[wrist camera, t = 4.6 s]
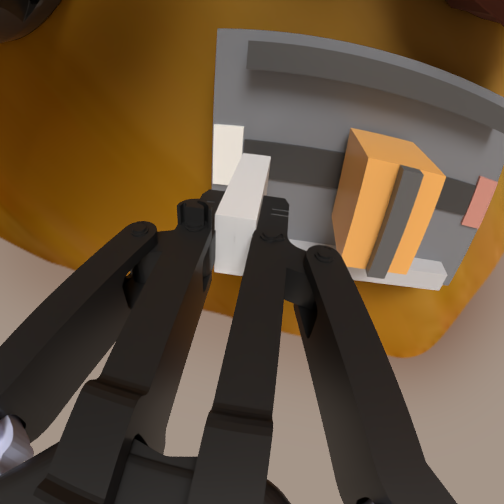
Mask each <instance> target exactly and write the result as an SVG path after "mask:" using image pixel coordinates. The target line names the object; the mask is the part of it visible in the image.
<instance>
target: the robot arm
mask: <svg viewBox="0 0 504 504" xmlns="http://www.w3.org/2000/svg"><path fill="white" fill-rule="evenodd" d="M60 1H61V0H0V43H3V42H7V41H12V40H16V39H19V38H21V37H23V36H25V35H27V34H29V33H30V32H32V31H33V30H34V29H36V28H37V27H38V26H39V25H40V24H41V23H42V22H43V21H44V20H45V19H46V18H47V17H48V16H49V15H50V14H51V13H52V12H53V10H54V9H55V8H56V7H57V5H58V4H59V2H60ZM270 161H271V156H264V155H256V154H247V153H243V155H242V157H241V159H240V161H239V163H238V165H237V167H236V169H235V172H234V174H233V176H232V178H231V180H230V182H229V185H228V187H227V189H226V191H219V190H208V191H207V192H205V193H203V194H202V196H201V198H200V199H189V200H185V201H182V202H180V203H179V204H178V205H177V216H178V225H177V227H176V229H175V230H171V231H160V232H157V228H156V226H155V225H154V224H153V223H151V222H146V221H141V222H140V221H139V222H135V223H132V224H130V225H128V226H127V227H125V228H124V229H123V230H122V231H121V232H119V233H118V234H117V235H116V236H115V237H114V238H112V239H111V240H110V241H109V242H108V243H106V244H105V245H104V246H103V247H102V248H101V249H99V250H98V251H97V252H96V253H95V254H94V255H93V256H92V257H90V258H89V259H88V260H87V261H86V262H85V263H84V264H83V265H81V266H80V267H79V268H78V269H77V270H76V271H75V272H74V273H73V274H72V275H71V276H69V277H68V278H67V279H66V280H65V281H64V282H63V283H62V284H61V285H60V286H59V287H58V288H57V289H56V290H55V291H54V292H53V293H51V295H49V296H48V297H47V298H46V299H45V300H44V301H43V302H42V303H41V304H40V305H39V306H38V307H37V308H36V309H35V310H34V311H33V312H32V313H31V314H30V315H29V316H28V317H27V319H25V321H24V322H23V323H22V324H21V325H20V326H19V327H18V328H17V329H16V330H15V331H14V332H13V333H12V334H11V335H10V336H9V338H8V339H7V340H6V341H5V342H4V343H3V344H2V345H1V346H0V504H291V503H290V502H289V501H288V499H287V498H286V497H285V495H284V494H283V493H282V492H281V491H280V490H279V489H278V488H277V487H276V486H275V485H274V484H273V483H272V482H270V481H269V480H267V473H268V466H269V457H270V450H271V442H272V432H273V421H272V411H273V403H274V394H275V385H276V376H277V367H278V357H279V347H280V336H281V325H282V314H283V303H284V299H285V300H287V301H289V302H292V303H294V311H295V314H296V318H297V322H298V326H299V330H300V334H301V337H302V341H303V345H304V349H305V353H306V357H307V361H308V364H309V369H310V373H311V377H312V381H313V385H314V389H315V393H316V397H317V401H318V406H319V410H320V414H321V418H322V422H323V427H324V431H325V435H326V439H327V443H328V447H329V452H330V457H331V461H332V465H333V470H334V474H335V479H336V482H337V486H338V490H339V493H340V496H341V498H342V501H343V503H344V504H457V503H456V501H455V500H454V499H453V498H452V496H451V495H450V493H449V492H448V491H447V490H446V488H445V487H444V486H443V484H442V483H441V482H440V480H439V479H438V478H437V476H436V475H435V474H434V473H433V471H432V470H431V468H430V467H429V466H428V465H427V463H426V461H425V458H424V455H423V452H422V449H421V446H420V443H419V440H418V437H417V434H416V431H415V428H414V426H413V423H412V420H411V417H410V414H409V412H408V409H407V406H406V403H405V401H404V398H403V395H402V393H401V390H400V388H399V385H398V382H397V380H396V377H395V375H394V372H393V370H392V367H391V365H390V363H389V360H388V357H387V355H386V353H385V350H384V348H383V346H382V343H381V341H380V338H379V336H378V334H377V331H376V329H375V327H374V325H373V322H372V320H371V318H370V316H369V313H368V311H367V309H366V307H365V305H364V302H363V300H362V298H361V296H360V294H359V292H358V289H357V287H356V285H355V283H354V281H353V279H352V277H351V275H350V273H349V270H348V268H347V266H346V264H345V262H344V260H343V258H342V256H341V255H340V254H339V252H338V251H336V250H335V249H333V248H331V247H329V246H325V245H314V246H311V247H310V248H308V250H307V251H305V250H303V249H300V248H298V247H296V246H295V245H293V244H292V243H291V242H290V241H289V239H288V236H287V233H288V218H289V217H288V216H289V203H288V202H287V200H286V199H285V198H279V197H272V196H266V195H267V187H268V178H269V170H270ZM213 265H214V272H218V273H225V274H231V275H238V276H243V277H242V282H241V286H240V290H239V294H238V299H237V303H236V307H235V312H234V316H233V320H232V325H231V329H230V333H229V337H228V342H227V346H226V350H225V355H224V359H223V364H222V368H221V372H220V376H219V381H218V385H217V389H216V394H215V399H214V403H213V406H212V409H211V411H210V412H209V414H208V417H207V421H206V424H205V428H204V433H203V437H202V442H201V446H200V450H199V454H198V457H169V456H164V455H163V452H164V448H165V433H166V427H167V423H168V420H169V416H170V413H171V410H172V406H173V403H174V399H175V396H176V393H177V389H178V386H179V383H180V379H181V376H182V373H183V369H184V366H185V363H186V359H187V356H188V353H189V350H190V347H191V343H192V340H193V337H194V333H195V330H196V327H197V324H198V321H199V318H200V314H201V312H202V309H203V305H204V302H205V299H206V296H207V293H208V290H209V287H210V284H211V281H212V268H213ZM129 271H130V272H131V273H130V274H129V275H128V276H126V274H127V273H128V272H129ZM115 342H116V343H115ZM114 343H115V345H114V347H113V349H112V351H111V353H110V356H109V357H108V360H107V362H106V364H105V366H104V368H103V371H102V373H101V375H100V376H99V378H97V379H95V380H89V381H88V382H87V383H85V385H84V386H83V388H82V390H81V392H80V394H79V396H78V398H77V401H76V403H75V405H74V408H73V410H72V412H71V415H70V417H69V419H68V422H67V424H66V427H65V430H64V432H63V434H62V437H61V439H60V441H59V442H58V443H56V444H54V445H53V446H51V447H49V448H48V449H46V450H44V451H43V452H41V453H39V454H38V455H36V456H34V457H33V454H34V451H33V448H32V447H31V446H30V443H31V442H32V441H34V440H35V439H37V438H38V437H39V436H40V435H41V434H42V433H43V432H44V431H45V430H46V429H47V428H48V427H49V426H50V424H51V423H52V422H53V421H54V420H55V418H56V417H57V416H58V415H59V413H60V412H61V410H62V409H63V408H64V406H65V405H66V404H67V403H68V401H69V400H70V399H71V397H72V396H73V395H74V393H75V392H76V391H77V390H78V388H79V387H80V386H81V384H82V383H83V382H84V380H85V379H86V378H87V377H88V375H89V374H90V373H91V372H92V370H93V369H94V368H95V366H96V365H97V364H98V363H99V361H100V360H101V359H102V358H103V356H104V355H105V354H106V353H107V351H108V350H109V349H110V348H111V346H112V345H113V344H114ZM24 461H25V462H24Z"/></svg>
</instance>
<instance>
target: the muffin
mask: <svg viewBox="0 0 504 504" xmlns="http://www.w3.org/2000/svg"><path fill="white" fill-rule="evenodd" d="M445 1H446V2H447V3H448V4H449V6H450V7H451V8H455V9H460V10H464V11H467V12H469V13H471V14H474V15H476V16H478V17H480V18H482V19H486V20H490V21H494V22H497V23H500V24H502V25H503V26H504V0H445Z"/></svg>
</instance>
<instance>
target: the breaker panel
mask: <svg viewBox="0 0 504 504" xmlns="http://www.w3.org/2000/svg"><path fill="white" fill-rule="evenodd" d="M350 128H355V129H359V130H364V131H369V132H373V133H378V134H382V135H386V136H390V137H395V138H399V139H402V140H406V141H410V142H413V143H414V144H415V145H416V146H417V147H418V148H419V149H420V150H421V151H422V152H423V153H424V154H425V155H426V156H427V157H428V158H429V159H430V160H431V161H432V162H433V163H434V164H435V165H436V166H437V167H438V168H439V169H440V170H441V171H442V173H443V174H444V175H445V176H446V179H445V182H444V185H443V187H442V190H441V193H440V196H439V198H438V201H437V204H436V206H435V209H434V212H433V214H432V217H431V219H430V222H429V224H428V227H427V229H426V232H425V234H424V236H423V239H422V241H421V243H420V246H419V248H418V250H417V253H416V255H415V257H414V259H413V261H412V264H411V266H410V268H409V270H408V272H407V274H406V275H404V274H397V273H390V272H387V274H386V276H385V279H380V278H373V277H367V274H366V270H365V269H360V268H353V267H347V268H348V270H349V273H350V275H351V277H352V279H353V280H358V281H366V282H374V283H382V284H390V285H398V286H406V287H414V288H423V289H431V290H440V288H441V286H442V285H449V283H450V282H451V280H452V278H453V276H454V275H455V273H456V271H457V269H458V267H459V265H460V264H461V262H462V260H463V258H464V256H465V254H466V252H467V250H468V248H469V246H470V244H471V242H472V240H473V238H474V236H475V234H476V232H477V229H479V227H480V224H481V222H482V220H483V218H484V216H485V213H486V211H487V209H488V206H489V204H490V201H491V199H492V197H493V194H494V192H495V189H496V186H497V184H498V179H499V176H500V174H501V171H502V168H503V165H504V97H502V96H500V95H498V94H496V93H494V92H492V91H490V90H488V89H486V88H483V87H481V86H479V85H477V84H475V83H473V82H470V81H468V80H466V79H464V78H461V77H459V76H456V75H454V74H451V73H449V72H446V71H444V70H441V69H439V68H436V67H433V66H430V65H428V64H425V63H422V62H419V61H416V60H413V59H410V58H406V57H403V56H400V55H397V54H393V53H390V52H386V51H382V50H378V49H375V48H371V47H367V46H362V45H358V44H353V43H349V42H344V41H339V40H334V39H328V38H322V37H316V36H310V35H303V34H295V33H286V32H277V31H265V30H250V29H218V31H217V47H216V65H215V86H214V111H213V144H212V190H219V191H226V189H227V187H228V185H229V182H230V180H231V178H232V176H233V174H234V172H235V169H236V167H237V165H238V163H239V161H240V159H241V157H242V155H243V153H247V154H256V155H264V156H271V161H270V170H269V178H268V187H267V195H266V196H272V197H279V198H285V199H286V200H287V202H288V203H289V216H288V217H289V218H288V233H287V236H288V239H289V241H290V242H291V243H292V244H293V245H295V246H296V247H298V248H300V249H303V250H305V251H307V250H308V248H310V247H311V246H314V245H325V246H329V247H331V248H333V249H335V250H336V251H337V249H336V242H335V236H334V229H333V222H332V212H333V207H334V203H335V199H336V195H337V190H338V186H339V181H340V177H341V172H342V167H343V163H344V158H345V153H346V148H347V143H348V138H349V133H350Z"/></svg>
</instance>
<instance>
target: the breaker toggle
mask: <svg viewBox="0 0 504 504" xmlns="http://www.w3.org/2000/svg"><path fill="white" fill-rule="evenodd" d="M445 179H446V176H445V175H444V174H443V173H442V171H441V170H440V169H439V168H438V167H437V166H436V165H435V164H434V163H433V162H432V161H431V160H430V159H429V158H428V157H427V156H426V155H425V154H424V153H423V152H422V151H421V150H420V149H419V148H418V147H417V146H416V145H415V144H414V143H413V142H410V141H406V140H402V139H399V138H395V137H390V136H386V135H382V134H378V133H373V132H369V131H364V130H359V129H355V128H350V133H349V138H348V143H347V148H346V153H345V158H344V163H343V167H342V172H341V177H340V181H339V186H338V190H337V195H336V199H335V203H334V207H333V212H332V222H333V229H334V236H335V242H336V249H337V251H338V252H339V254H340V255H341V256H342V258H343V260H344V262H345V264H346V266H347V267H353V268H360V269H365V270H366V274H367V277H373V278H380V279H385V276H386V274H387V272H390V273H397V274H404V275H406V274H407V272H408V270H409V268H410V266H411V264H412V261H413V259H414V257H415V255H416V253H417V250H418V248H419V246H420V243H421V241H422V239H423V236H424V234H425V232H426V229H427V227H428V224H429V222H430V219H431V217H432V214H433V212H434V209H435V206H436V204H437V201H438V198H439V196H440V193H441V190H442V187H443V185H444V182H445Z"/></svg>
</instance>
